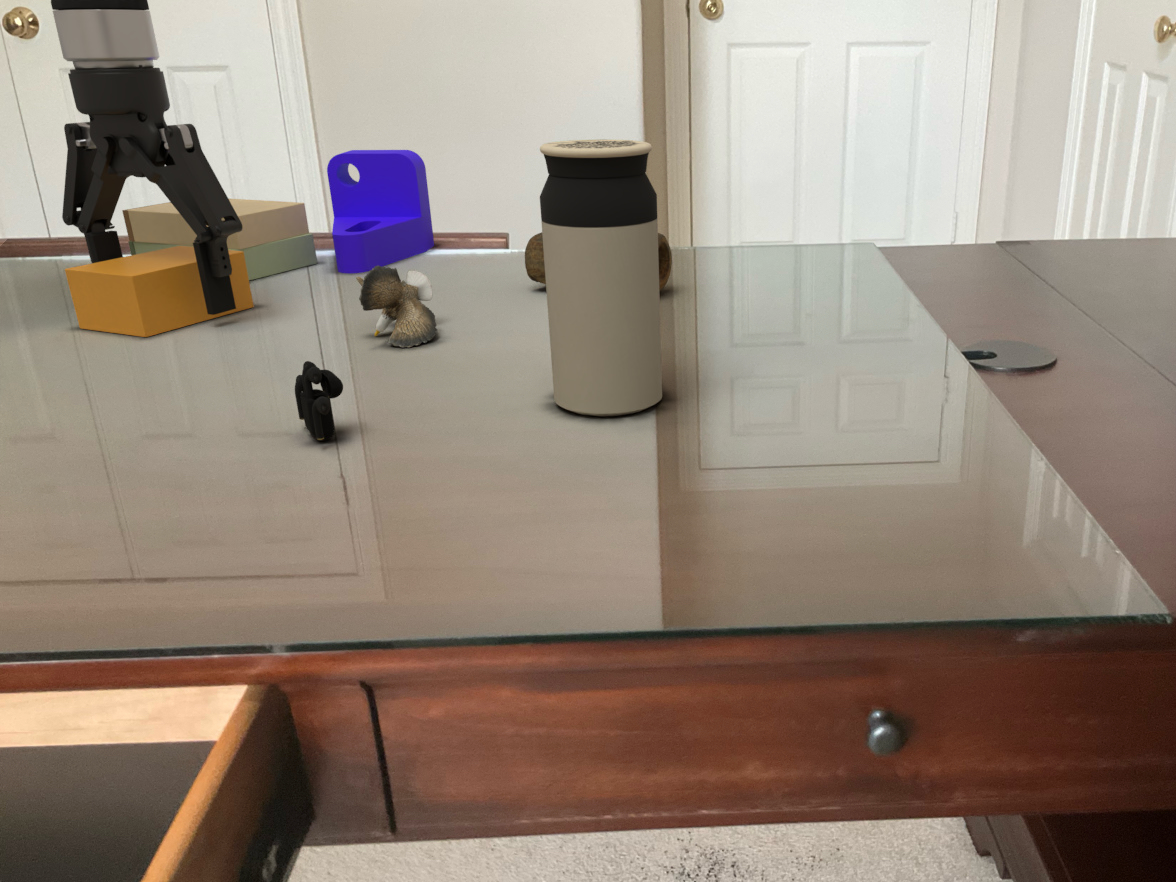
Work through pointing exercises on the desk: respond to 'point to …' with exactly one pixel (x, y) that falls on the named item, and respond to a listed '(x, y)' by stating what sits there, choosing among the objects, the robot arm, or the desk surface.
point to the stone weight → (537, 266)
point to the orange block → (149, 292)
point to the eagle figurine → (399, 304)
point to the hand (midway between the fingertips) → (169, 306)
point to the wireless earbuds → (317, 400)
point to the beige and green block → (266, 237)
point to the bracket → (379, 208)
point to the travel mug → (602, 276)
